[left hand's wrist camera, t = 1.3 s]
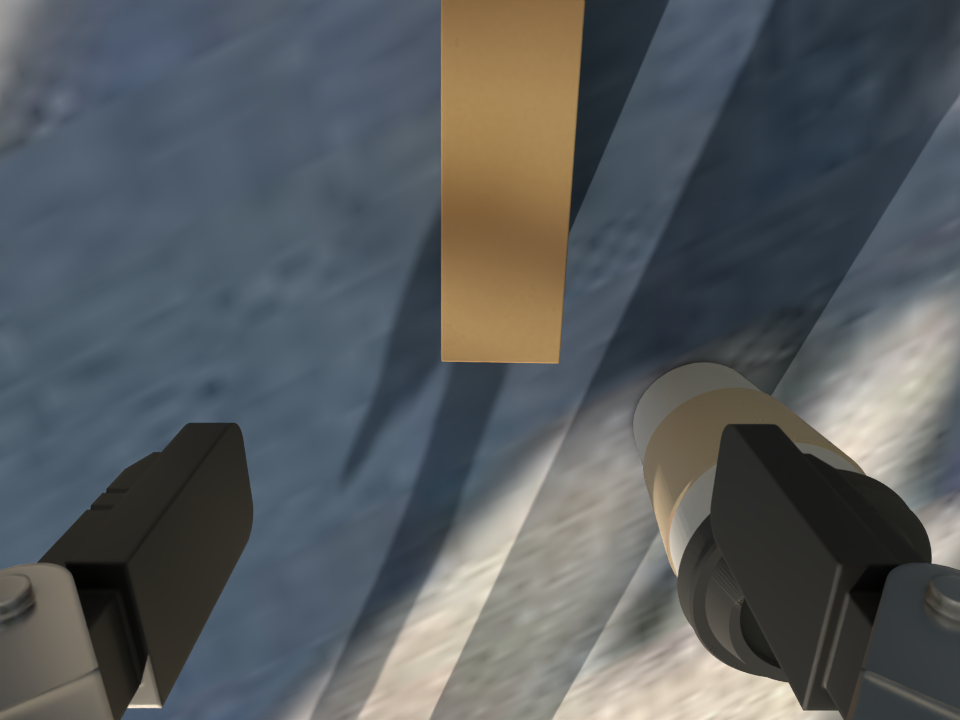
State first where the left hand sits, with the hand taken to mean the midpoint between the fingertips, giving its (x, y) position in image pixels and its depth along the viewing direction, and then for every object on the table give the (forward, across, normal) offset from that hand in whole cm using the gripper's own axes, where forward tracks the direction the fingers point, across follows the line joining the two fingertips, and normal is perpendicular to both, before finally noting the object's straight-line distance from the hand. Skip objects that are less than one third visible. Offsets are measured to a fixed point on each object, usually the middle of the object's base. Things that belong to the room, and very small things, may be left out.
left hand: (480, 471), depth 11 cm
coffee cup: (+23, -12, +11) cm, 28 cm away
